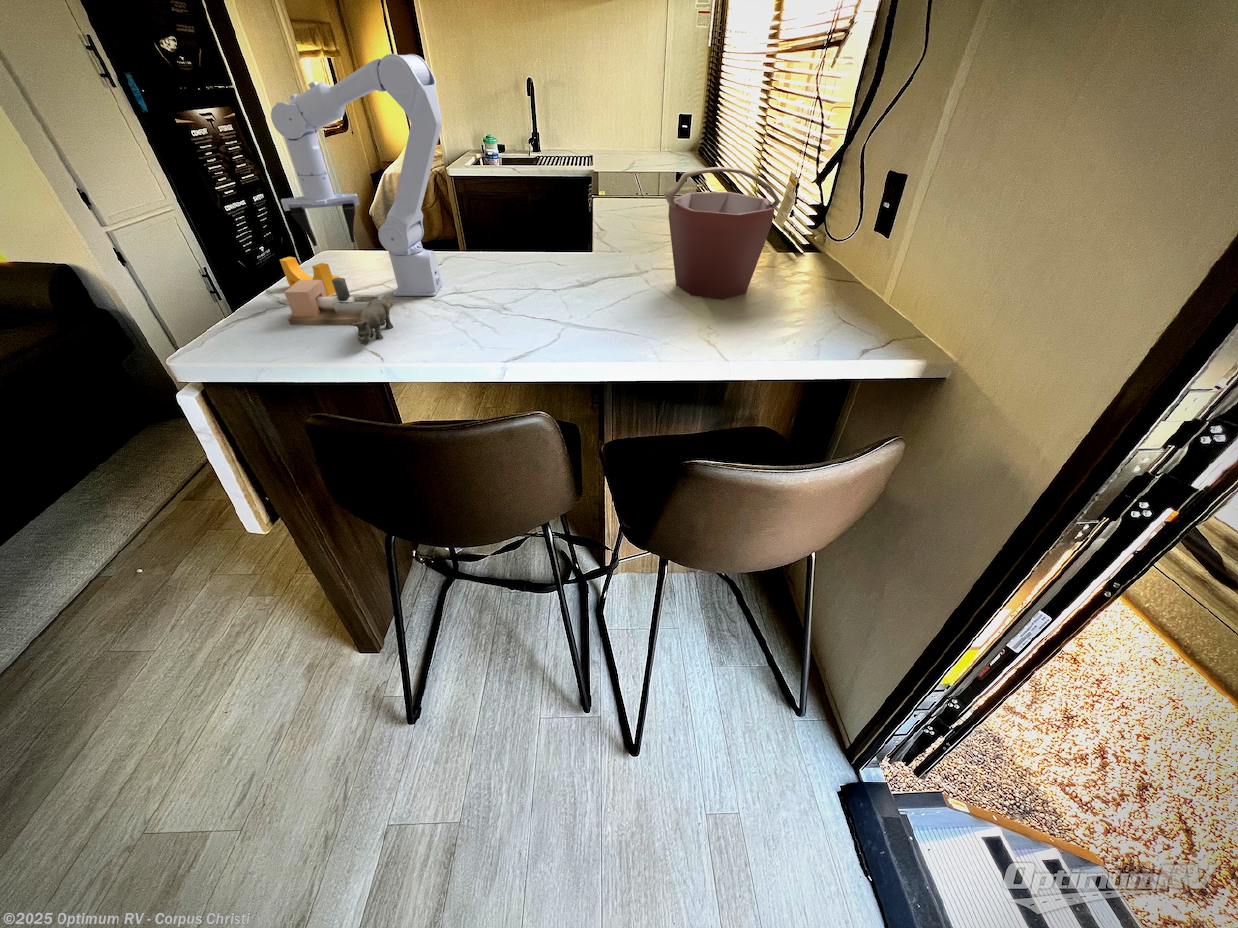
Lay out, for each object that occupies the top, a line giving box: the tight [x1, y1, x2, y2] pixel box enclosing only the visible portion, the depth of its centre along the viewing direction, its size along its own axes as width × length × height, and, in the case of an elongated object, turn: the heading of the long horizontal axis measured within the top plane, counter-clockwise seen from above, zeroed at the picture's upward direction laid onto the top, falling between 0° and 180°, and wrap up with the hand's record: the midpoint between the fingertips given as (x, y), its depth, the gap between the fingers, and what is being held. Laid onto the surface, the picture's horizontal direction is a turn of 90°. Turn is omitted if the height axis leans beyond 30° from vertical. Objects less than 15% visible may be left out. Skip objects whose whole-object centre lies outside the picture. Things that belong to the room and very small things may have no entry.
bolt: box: [315, 277, 355, 309], centre depth 105 cm, size 9×2×6 cm, turn 92°
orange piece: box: [279, 256, 341, 297], centre depth 117 cm, size 12×4×6 cm, turn 66°
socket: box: [283, 280, 329, 317], centre depth 105 cm, size 4×7×5 cm, turn 2°
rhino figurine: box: [349, 298, 394, 346], centre depth 97 cm, size 4×14×6 cm, turn 0°
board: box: [287, 300, 394, 325], centre depth 107 cm, size 18×10×1 cm, turn 92°
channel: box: [333, 294, 387, 314], centre depth 106 cm, size 9×5×2 cm, turn 92°
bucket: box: [663, 166, 780, 301], centre depth 116 cm, size 24×22×25 cm
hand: (334, 243), depth 114 cm, fingers open, 7 cm apart
